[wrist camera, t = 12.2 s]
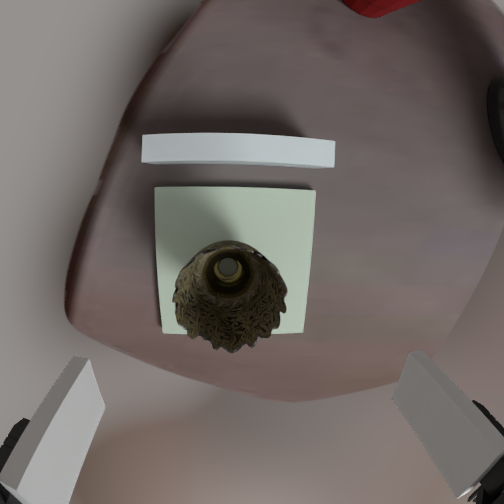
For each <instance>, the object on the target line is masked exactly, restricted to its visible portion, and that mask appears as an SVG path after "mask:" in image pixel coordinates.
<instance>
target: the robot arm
mask: <svg viewBox="0 0 504 504" xmlns="http://www.w3.org/2000/svg"><path fill="white" fill-rule="evenodd" d="M488 115H489V121H490V126H491V130H492V134H493V138H494V141H495V144H496V147H497V149H498V152H499V154H500V156H501V158H502V160H503V162H504V77H499V78H495V79H494V80H493V81H492V82H491V84H490V86H489V90H488ZM392 400H393V401H394V402H395V404H396V406H397V407H398V408H399V410H400V411H401V413H402V414H403V416H404V417H405V419H406V420H407V422H408V423H409V425H410V426H411V428H412V429H413V431H414V432H415V434H416V435H417V437H418V438H419V440H420V442H421V443H422V445H423V446H424V448H425V449H426V451H427V452H428V454H429V455H430V457H431V458H432V460H433V462H434V463H435V465H436V466H437V468H438V469H439V471H440V472H441V474H442V476H443V477H444V479H445V480H446V482H447V484H448V485H449V487H450V489H451V490H452V492H453V493H454V495H455V497H456V498H457V499H458V498H459V497H461V496H463V495H464V494H466V493H468V492H469V491H471V490H472V489H473V488H474V487H475V486H476V485H477V484H478V483H479V482H480V483H481V486H480V487H479V488H478V489H477V490H476V491H474V492H473V493H472V494H471V496H470V497H469V499H468V502H470V501H471V500H472V499H473V498H474V497H475V496H476V495H477V497H476V498H475V499H474V500H473V502H476V504H504V428H503V427H502V426H501V424H500V423H499V422H498V421H496V420H495V418H494V417H493V416H492V415H490V413H489V411H488V410H487V409H486V408H485V407H484V406H483V405H481V404H480V403H478V402H476V401H474V400H473V401H471V400H470V399H469V398H468V397H467V396H466V395H465V394H464V392H463V391H462V390H461V389H459V387H458V386H457V385H456V384H455V383H454V382H453V381H452V380H451V379H450V378H449V377H448V376H447V375H446V374H445V373H444V372H443V371H442V370H441V368H440V367H438V365H437V364H436V363H435V362H434V361H433V360H432V359H431V358H430V357H429V356H428V355H427V354H426V353H425V352H424V351H423V350H418V351H413V352H409V354H408V357H407V360H406V362H405V365H404V368H403V371H402V374H401V376H400V379H399V382H398V384H397V387H396V389H395V392H394V394H393V397H392ZM104 410H105V405H104V402H103V399H102V396H101V394H100V391H99V388H98V385H97V382H96V379H95V376H94V373H93V369H92V366H91V363H90V360H89V359H88V358H82V357H75V356H74V357H73V358H72V359H71V361H70V362H69V363H68V365H67V366H66V368H65V369H64V370H63V372H62V373H61V375H60V376H59V378H58V379H57V380H56V382H55V383H54V385H53V386H52V388H51V389H50V391H49V392H48V394H47V395H46V397H45V398H44V400H43V402H42V403H41V405H40V406H39V408H38V409H37V411H36V413H35V414H34V416H33V417H32V419H31V420H28V419H25V418H23V419H22V420H20V421H19V422H18V423H17V424H15V425H14V426H13V428H12V430H11V431H10V433H9V434H8V437H7V438H6V439H5V441H4V445H2V446H1V448H0V504H69V501H70V498H71V495H72V492H73V489H74V487H75V484H76V481H77V478H78V475H79V473H80V470H81V467H82V464H83V462H84V459H85V456H86V454H87V451H88V449H89V446H90V444H91V441H92V439H93V436H94V434H95V431H96V429H97V426H98V424H99V422H100V419H101V417H102V414H103V412H104Z"/></svg>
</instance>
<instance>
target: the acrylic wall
mask: <svg viewBox="0 0 504 504" xmlns="http://www.w3.org/2000/svg"><path fill="white" fill-rule="evenodd" d="M334 160H335V141H329V140H321V139H312V138H302V137H292V136H279V135H264V134H243V133H172V134H151V135H143V136H142V162H144V163H150V164H156V165H160V164H247V165H270V166H288V167H302V168H331V167H334Z"/></svg>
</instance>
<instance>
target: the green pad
mask: <svg viewBox="0 0 504 504" xmlns="http://www.w3.org/2000/svg"><path fill="white" fill-rule="evenodd" d="M315 197H316V191H315V190H302V189H283V188H259V187H210V186H187V187H155V238H156V259H157V275H158V288H159V300H160V310H161V320H162V329H163V333H170V334H187V330H185V329H184V328H183V327H181V326H179V325H178V323H177V320H176V316H175V303H173V302H172V298H173V293H174V292H175V289H176V288H175V282H176V279H177V277H178V275H179V274H180V273H179V272H180V271H181V269H182V268H183V267H184V266H185V265H186V264H187V263H188V262H189V261H190V260H191V259H192V258H193V257H194V256H195V255H196V254H197V253H198V252H199V251H200V250H201V249H203V248H204V247H206V246H208V245H210V244H212V243H215V242H218V241H223V240H234V241H240V242H243V243H246V244H248V245H250V246H252V247H253V248H255V249H256V250H258V251H259V252H260V253H261V254H262V255H264V256H265V257H266V258H267V259H268V260H269V261H270V262H272V263H273V264H274V265H275V266H276V267H277V268H278V270H279V272H280V275H281V277H282V278H283V280H284V282H285V284H286V286H287V290H288V293H287V296H286V297H285V300H284V302H285V305H286V307H287V310H286V313H284V314H283V313H282V312H280V326H279V328H278V329H273V330H272V332H271V334H282V333H303V327H304V319H305V311H306V302H307V293H308V284H309V274H310V263H311V252H312V240H313V227H314V213H315ZM236 270H237V264H236V262H235V261H234V260H233V259H231V258H225V259H223V260H222V261H221V262H220V263H219V271H220V272H221V273H222V274H223V275H226V276H229V275H232V274H234V273H235V272H236Z"/></svg>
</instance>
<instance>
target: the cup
mask: <svg viewBox="0 0 504 504" xmlns="http://www.w3.org/2000/svg"><path fill="white" fill-rule="evenodd" d="M225 258H231V259H233V260H234V261H235V262H236V264H237V270H236V272H235V273H234V274H232V275H229V276H226V275H223V274H222V273H221V272H220V271H219V263H220V262H221V261H222V260H223V259H225ZM179 273H180V274H179V275H178V277H177V279H176V282H175V288H176V289H175V292H174V293H173V298H172V302H173V303H175V316H176V320H177V323H178V325H179V326H181V327H183V328H184V329H185V330H187V335H188V336H189V337H190V338H191V339H195V338H197V336H198V335H199V336H201V337H202V338H203V340H208V341H210V342H211V344H212V346H213V349H215V350H219V349H220V348H221V347H223V348H224V349H225V350H226V351H227V352H229V353H234V352H237V351H238V350H239V349H240V348H241V347H242V346H243V345H245V344H247V345H248V346H249V347H251V348H253V347H254V346H255V344H256V343H257V337H258V336H259V337H261V338H269V337H270V336H271V332H272V330H273V329H278V328H279V326H280V312H282V313H283V314H284V313H286V310H287V307H286V305H285V302H284V300H285V297H286V296H287V293H288V290H287V286H286V284H285V282H284V280H283V278H282V277H281V275H280V272H279V270H278V268H277V267H276V266H275V265H274V264H273V263H272V262H270V261H269V260H268V259H267V258H266V257H265V256H264V255H262V254H261V253H260V252H259V251H258V250H256V249H255V248H253V247H252V246H250V245H248V244H246V243H243V242H240V241H234V240H223V241H218V242H215V243H212V244H210V245H208V246H206V247H204V248H203V249H201V250H200V251H199V252H198V253H197V254H196V255H195V256H194V257H193V258H192V259H191V260H190V261H189V262H188V263H187V264H186V265H185V266H184V267H183V268H182V269H181V271H180V272H179Z"/></svg>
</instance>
